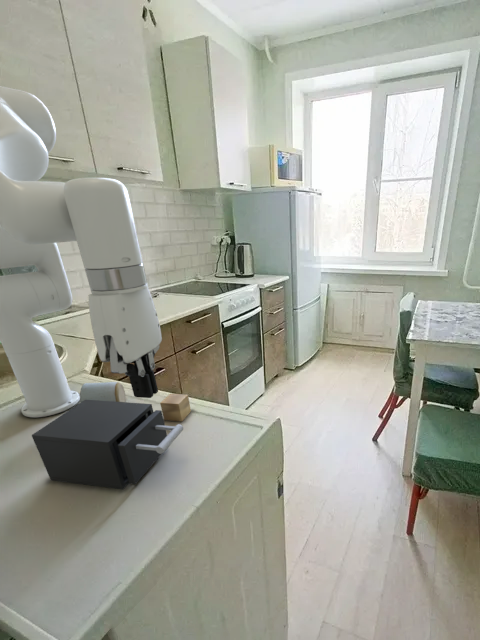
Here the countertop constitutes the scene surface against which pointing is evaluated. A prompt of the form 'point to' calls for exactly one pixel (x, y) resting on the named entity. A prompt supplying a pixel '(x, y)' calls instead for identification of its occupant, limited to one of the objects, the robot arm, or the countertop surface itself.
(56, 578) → the countertop surface
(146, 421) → the basket
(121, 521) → the countertop surface
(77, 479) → the box
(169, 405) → the block
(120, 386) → the ceramic mug
